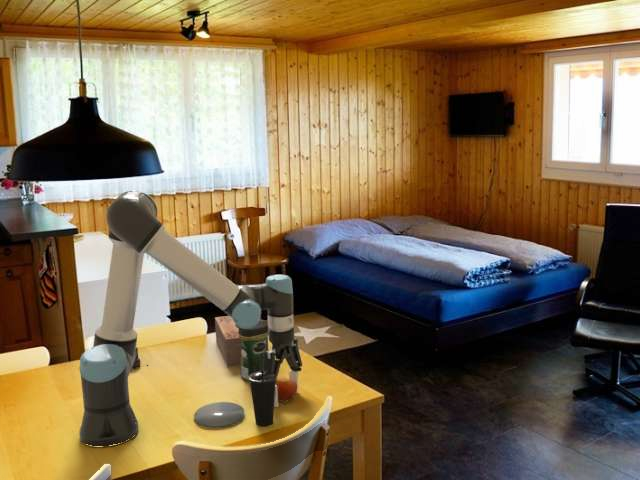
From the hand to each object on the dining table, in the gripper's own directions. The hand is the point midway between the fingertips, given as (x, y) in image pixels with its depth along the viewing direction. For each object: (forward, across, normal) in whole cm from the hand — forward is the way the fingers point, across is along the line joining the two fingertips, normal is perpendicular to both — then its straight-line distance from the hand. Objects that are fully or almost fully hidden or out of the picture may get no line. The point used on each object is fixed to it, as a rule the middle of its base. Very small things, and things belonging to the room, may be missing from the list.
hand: (284, 398), depth 200 cm
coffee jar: (0, +11, +18) cm, 21 cm away
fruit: (+1, 0, 0) cm, 1 cm away
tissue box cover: (+1, +27, +36) cm, 45 cm away
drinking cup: (0, -15, -4) cm, 16 cm away
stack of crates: (+1, -1, +63) cm, 63 cm away
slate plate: (0, -18, +10) cm, 21 cm away
